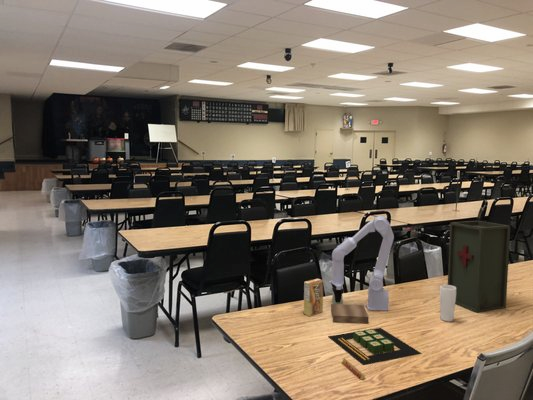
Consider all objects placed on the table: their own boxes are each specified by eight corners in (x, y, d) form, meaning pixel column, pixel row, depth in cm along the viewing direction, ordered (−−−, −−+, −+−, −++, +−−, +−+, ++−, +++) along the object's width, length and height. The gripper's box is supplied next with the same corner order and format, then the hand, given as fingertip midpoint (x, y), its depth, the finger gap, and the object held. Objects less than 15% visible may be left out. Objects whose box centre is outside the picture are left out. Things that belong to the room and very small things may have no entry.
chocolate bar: (359, 381, 136) (359, 374, 136) (340, 364, 148) (340, 358, 147) (366, 380, 137) (366, 373, 137) (347, 363, 148) (347, 357, 148)
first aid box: (505, 308, 203) (510, 225, 199) (477, 313, 196) (481, 228, 192) (474, 296, 220) (477, 220, 216) (446, 300, 213) (450, 222, 209)
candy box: (316, 309, 200) (317, 278, 199) (323, 312, 197) (323, 280, 196) (303, 314, 195) (303, 281, 193) (309, 316, 192) (310, 283, 190)
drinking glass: (455, 318, 190) (456, 285, 188) (454, 323, 184) (456, 290, 182) (438, 316, 192) (440, 283, 191) (438, 321, 186) (439, 288, 185)
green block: (341, 303, 210) (341, 293, 209) (342, 306, 205) (342, 296, 205) (332, 302, 210) (332, 293, 210) (332, 306, 206) (333, 296, 205)
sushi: (328, 338, 170) (328, 329, 169) (380, 329, 178) (380, 321, 178) (363, 367, 146) (363, 356, 146) (421, 355, 155) (421, 345, 155)
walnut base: (363, 311, 198) (363, 305, 198) (368, 323, 184) (368, 316, 183) (331, 310, 200) (331, 304, 199) (333, 322, 185) (333, 315, 185)
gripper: (328, 268, 214) (328, 294, 215) (330, 276, 199) (329, 304, 201) (342, 269, 213) (342, 295, 215) (345, 276, 199) (344, 305, 200)
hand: (337, 299), depth 208 cm, fingers open, 7 cm apart
